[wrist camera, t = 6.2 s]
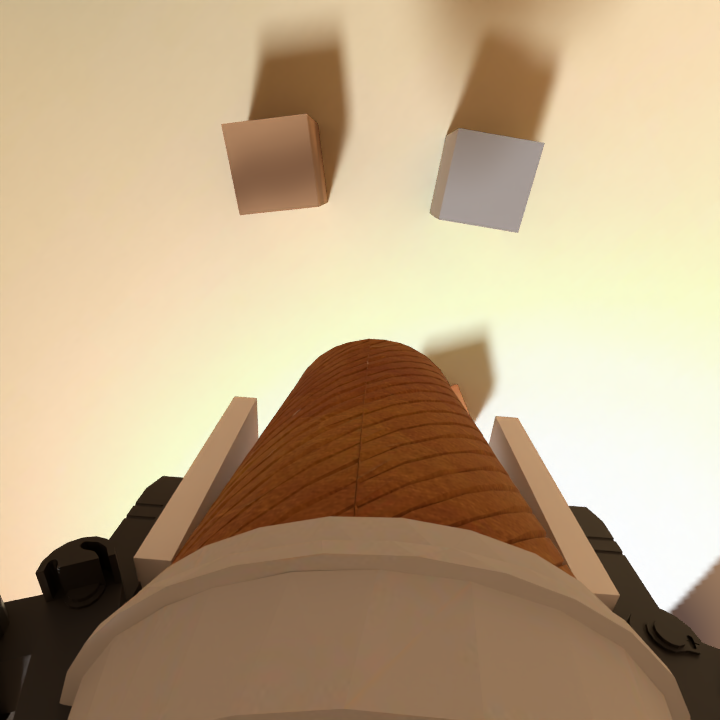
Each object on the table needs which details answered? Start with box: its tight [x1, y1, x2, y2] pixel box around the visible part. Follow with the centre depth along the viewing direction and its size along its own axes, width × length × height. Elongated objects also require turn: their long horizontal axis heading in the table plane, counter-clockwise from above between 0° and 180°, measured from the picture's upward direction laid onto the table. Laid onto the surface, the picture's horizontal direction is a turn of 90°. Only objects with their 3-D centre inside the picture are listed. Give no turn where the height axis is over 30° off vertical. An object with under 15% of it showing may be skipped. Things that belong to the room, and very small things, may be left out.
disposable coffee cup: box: [60, 339, 691, 720], centre depth 11 cm, size 10×10×12 cm
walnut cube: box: [221, 114, 328, 215], centre depth 27 cm, size 5×5×5 cm
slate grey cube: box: [430, 128, 544, 233], centre depth 27 cm, size 5×5×5 cm
